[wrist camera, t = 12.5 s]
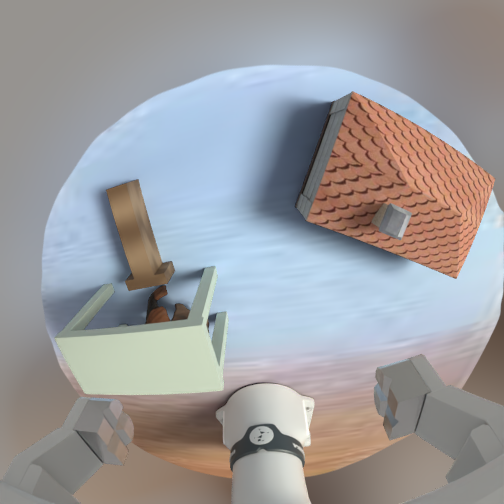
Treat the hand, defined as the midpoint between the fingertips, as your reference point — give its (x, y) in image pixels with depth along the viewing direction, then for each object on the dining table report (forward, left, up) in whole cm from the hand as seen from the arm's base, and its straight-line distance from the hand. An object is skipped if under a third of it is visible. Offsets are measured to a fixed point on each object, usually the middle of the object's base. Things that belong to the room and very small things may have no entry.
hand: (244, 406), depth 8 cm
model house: (-1, -20, -35) cm, 40 cm away
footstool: (-13, +15, -34) cm, 39 cm away
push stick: (-1, +15, -34) cm, 38 cm away
